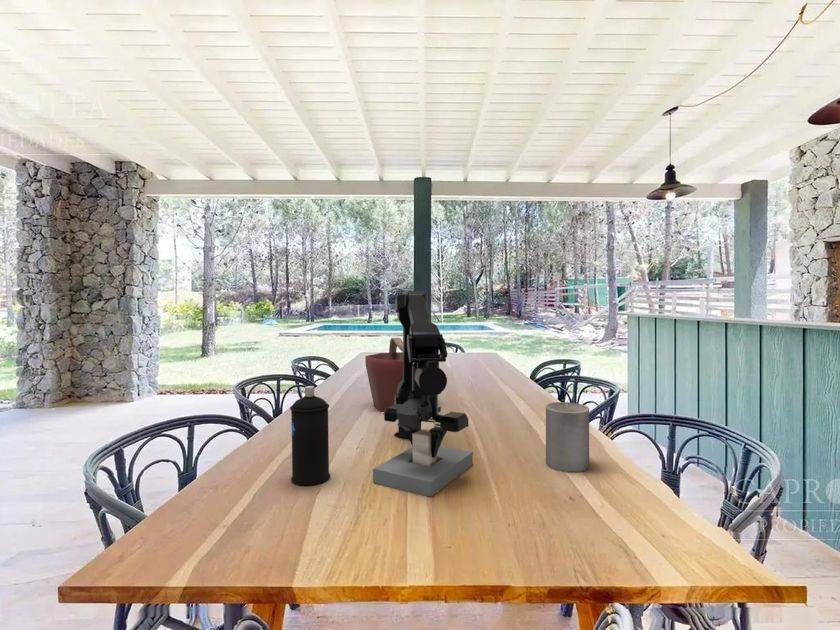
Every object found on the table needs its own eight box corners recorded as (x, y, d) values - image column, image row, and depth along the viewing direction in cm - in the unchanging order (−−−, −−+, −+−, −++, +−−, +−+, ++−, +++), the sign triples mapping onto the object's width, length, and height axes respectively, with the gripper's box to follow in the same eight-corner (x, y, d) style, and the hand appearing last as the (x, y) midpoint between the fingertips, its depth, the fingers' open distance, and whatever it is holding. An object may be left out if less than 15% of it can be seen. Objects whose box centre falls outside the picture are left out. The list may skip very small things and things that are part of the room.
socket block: (421, 454, 113) (421, 442, 113) (472, 464, 106) (472, 452, 106) (373, 482, 96) (372, 468, 96) (430, 497, 88) (430, 482, 88)
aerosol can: (337, 473, 101) (336, 384, 100) (317, 488, 93) (315, 391, 92) (305, 469, 103) (304, 382, 102) (283, 483, 95) (281, 389, 95)
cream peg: (421, 463, 103) (421, 429, 103) (437, 466, 101) (437, 431, 101) (412, 469, 100) (412, 433, 100) (428, 472, 98) (428, 436, 98)
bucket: (427, 416, 149) (427, 341, 148) (360, 416, 149) (360, 341, 148) (427, 400, 173) (427, 335, 172) (370, 400, 173) (369, 335, 172)
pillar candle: (558, 454, 112) (558, 394, 112) (596, 464, 105) (596, 400, 105) (537, 465, 106) (537, 401, 105) (577, 476, 99) (577, 408, 98)
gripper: (369, 387, 98) (369, 459, 98) (445, 397, 88) (445, 476, 89) (397, 379, 107) (397, 444, 108) (469, 387, 98) (469, 458, 98)
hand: (425, 455), depth 101 cm, fingers closed on cream peg, 4 cm apart
